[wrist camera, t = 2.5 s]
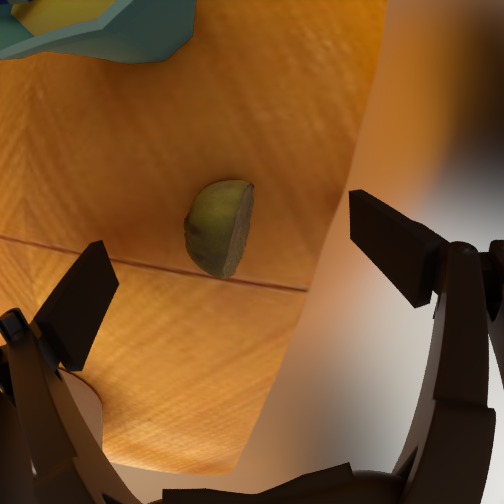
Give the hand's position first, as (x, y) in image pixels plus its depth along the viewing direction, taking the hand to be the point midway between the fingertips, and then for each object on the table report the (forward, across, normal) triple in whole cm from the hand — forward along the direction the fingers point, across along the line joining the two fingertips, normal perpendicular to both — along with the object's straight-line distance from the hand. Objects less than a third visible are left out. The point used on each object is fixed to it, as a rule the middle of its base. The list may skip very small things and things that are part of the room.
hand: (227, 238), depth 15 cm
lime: (+3, 0, 0) cm, 3 cm away
